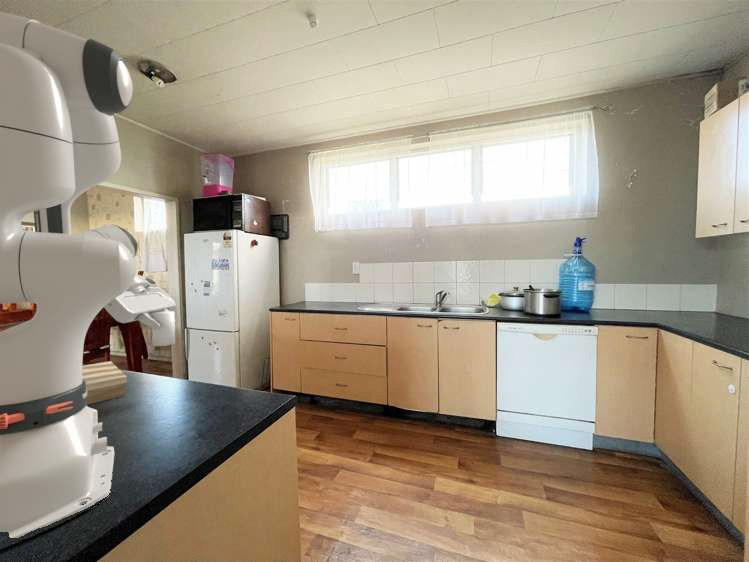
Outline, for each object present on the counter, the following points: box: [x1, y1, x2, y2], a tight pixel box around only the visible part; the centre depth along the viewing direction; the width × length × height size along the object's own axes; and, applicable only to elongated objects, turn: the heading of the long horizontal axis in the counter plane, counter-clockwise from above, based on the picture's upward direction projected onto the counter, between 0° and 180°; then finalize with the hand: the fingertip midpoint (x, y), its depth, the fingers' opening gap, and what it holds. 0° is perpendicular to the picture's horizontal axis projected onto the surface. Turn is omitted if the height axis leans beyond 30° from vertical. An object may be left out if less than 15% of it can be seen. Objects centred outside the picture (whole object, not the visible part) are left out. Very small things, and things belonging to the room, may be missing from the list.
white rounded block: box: [151, 310, 176, 347], centre depth 81 cm, size 5×5×8 cm
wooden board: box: [82, 360, 128, 406], centre depth 82 cm, size 22×14×5 cm, turn 50°
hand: (166, 325), depth 81 cm, fingers closed on white rounded block, 5 cm apart
